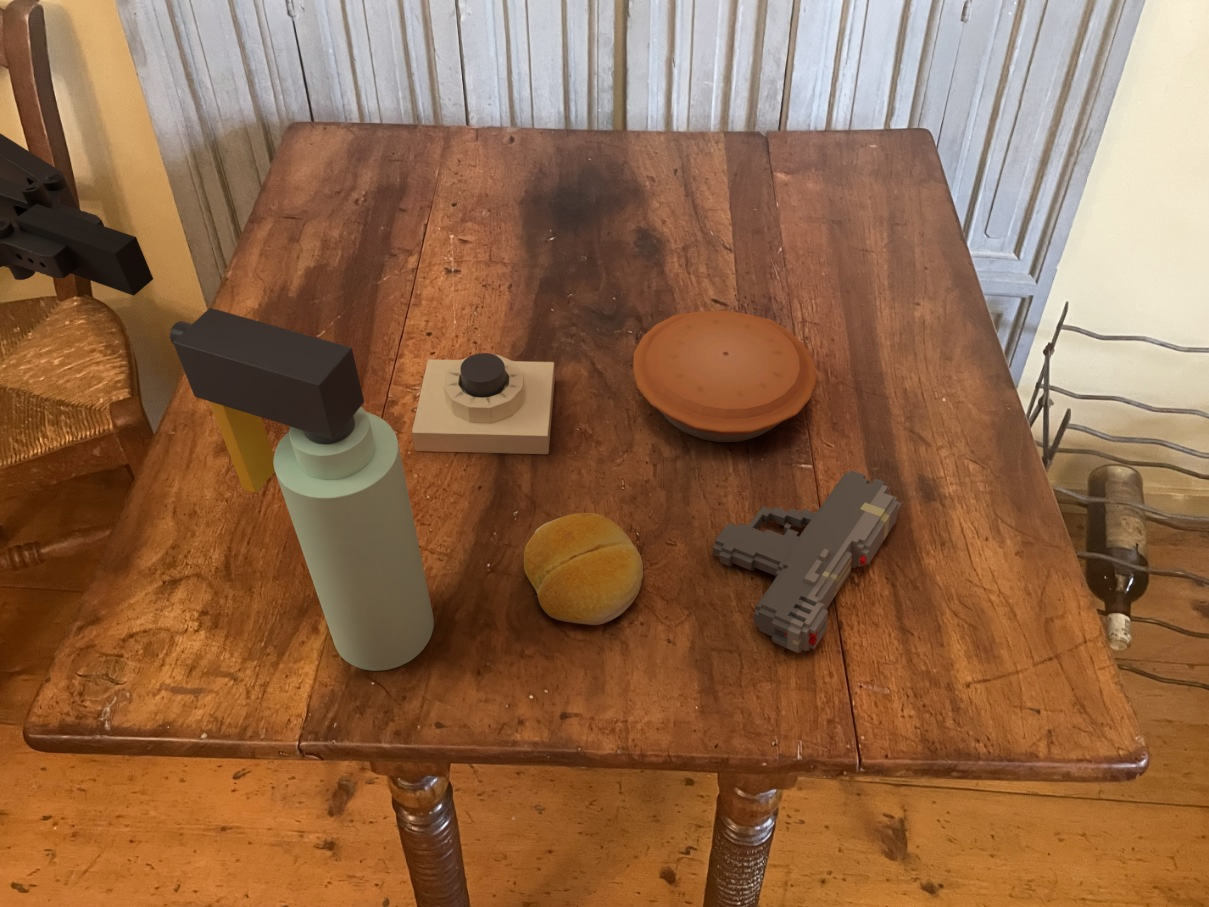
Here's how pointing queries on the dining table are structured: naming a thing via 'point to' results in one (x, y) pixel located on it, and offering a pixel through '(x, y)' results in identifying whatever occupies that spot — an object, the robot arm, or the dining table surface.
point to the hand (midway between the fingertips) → (134, 266)
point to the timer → (485, 411)
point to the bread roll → (583, 568)
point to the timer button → (483, 375)
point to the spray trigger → (246, 445)
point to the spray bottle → (325, 477)
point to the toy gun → (810, 555)
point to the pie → (723, 374)
